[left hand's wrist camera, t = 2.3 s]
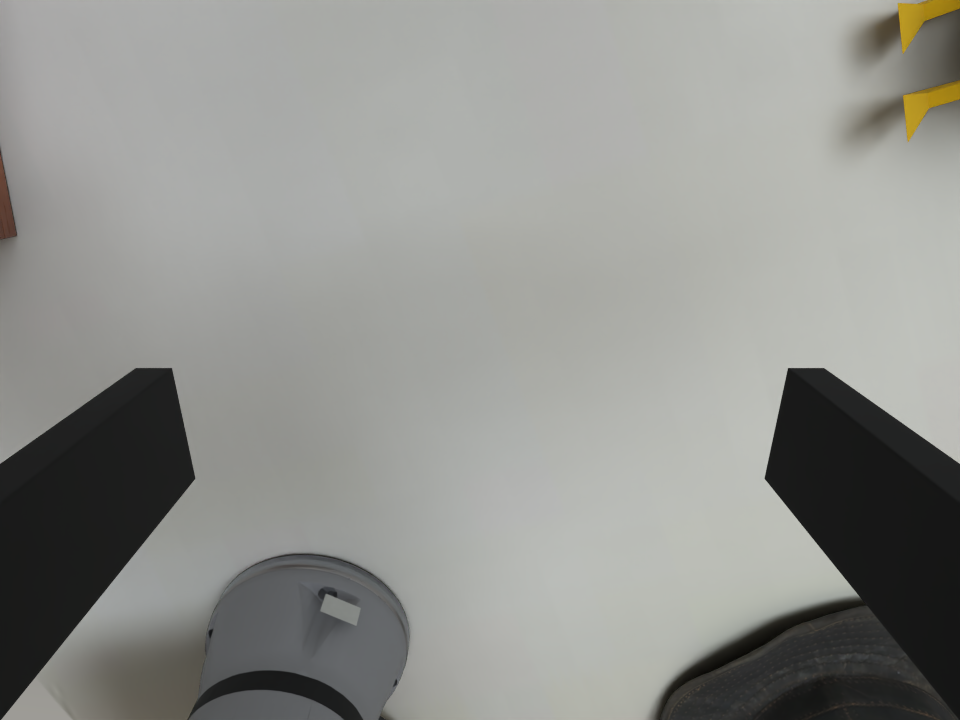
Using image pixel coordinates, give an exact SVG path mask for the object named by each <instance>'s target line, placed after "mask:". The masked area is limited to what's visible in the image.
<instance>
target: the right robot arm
mask: <svg viewBox="0 0 960 720" xmlns="http://www.w3.org/2000/svg"><path fill="white" fill-rule="evenodd" d="M408 647H409V626H408V621H407V618H406V615H405V612H404V610H403V608H402V606H401V604H400V603H399V601H398V600H397V598H396V597H395V596H394V594H393V593H392V592H391V591H390V590H389V589H388V588H387V587H386V586H385V585H384V584H383V583H382V582H381V581H379V580H378V579H377V578H375V577H374V576H372V575H371V574H369V573H368V572H366V571H364V570H362V569H360V568H358V567H356V566H354V565H352V564H349V563H346V562H343V561H340V560H337V559H333V558H328V557H323V556H314V555H291V556H284V557H278V558H274V559H270V560H267V561H264V562H261V563H259V564H257V565H254V566H253V567H251V568H249V569H247V570H246V571H244V572H243V573H241V574H240V575H239V576H238V577H236V578H235V579H234V580H233V581H232V582H231V583H230V585H229V586H228V587H227V588H226V590H225V591H224V593H223V595H222V597H221V598H220V600H219V602H218V604H217V606H216V608H215V609H214V611H213V614H212V616H211V619H210V623H209V626H208V629H207V634H206V643H205V651H206V658H205V661H204V665H203V669H202V674H201V680H200V688H199V695H198V699H197V702H196V704H195V706H194V708H193V710H192V712H191V714H190V716H189V718H188V720H385V719H384V718H383V717H381V716H380V714H381V712H382V709H383V707H384V705H385V703H386V701H387V700H388V699H389V697H390V696H391V695H392V693H393V692H394V690H395V688H396V687H397V685H398V683H399V681H400V679H401V676H402V673H403V670H404V668H405V665H406V660H407V654H408Z"/></svg>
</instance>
